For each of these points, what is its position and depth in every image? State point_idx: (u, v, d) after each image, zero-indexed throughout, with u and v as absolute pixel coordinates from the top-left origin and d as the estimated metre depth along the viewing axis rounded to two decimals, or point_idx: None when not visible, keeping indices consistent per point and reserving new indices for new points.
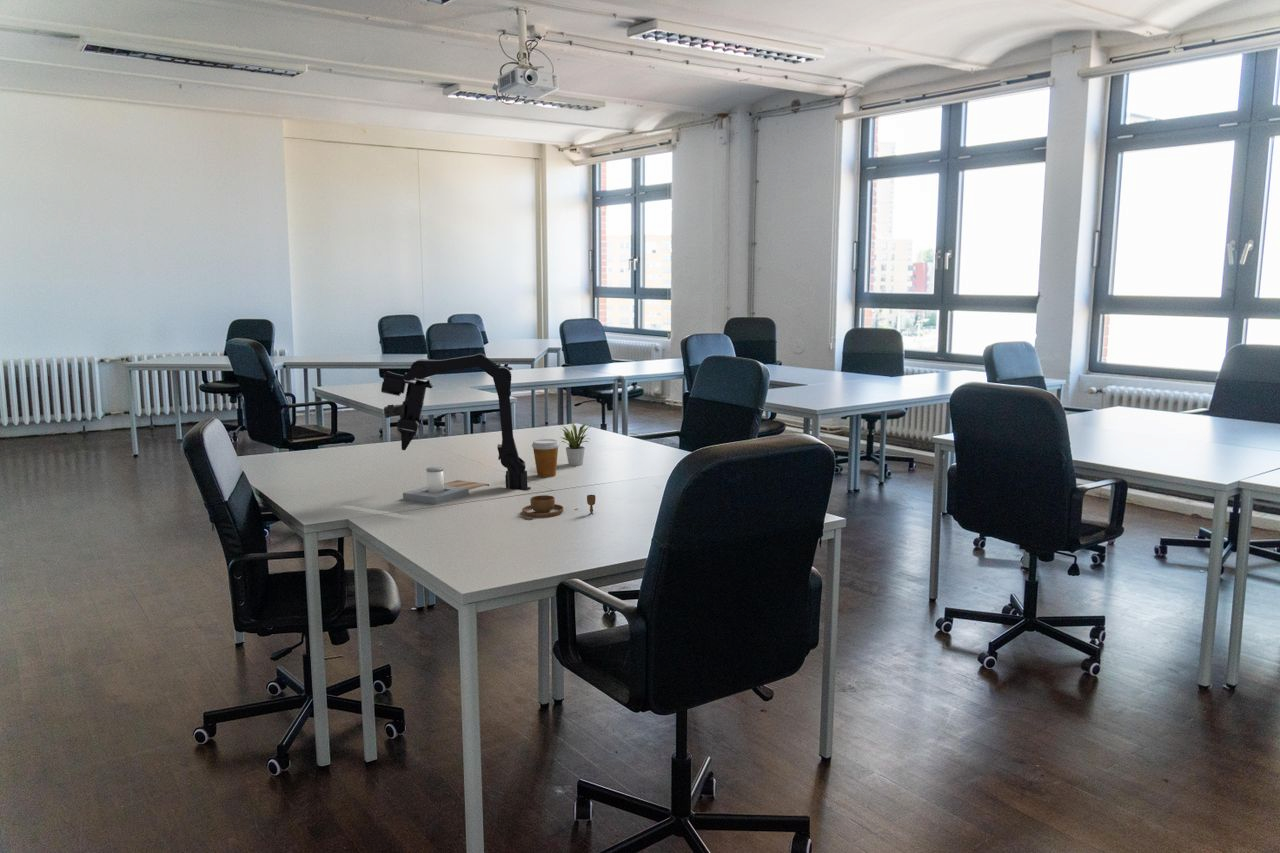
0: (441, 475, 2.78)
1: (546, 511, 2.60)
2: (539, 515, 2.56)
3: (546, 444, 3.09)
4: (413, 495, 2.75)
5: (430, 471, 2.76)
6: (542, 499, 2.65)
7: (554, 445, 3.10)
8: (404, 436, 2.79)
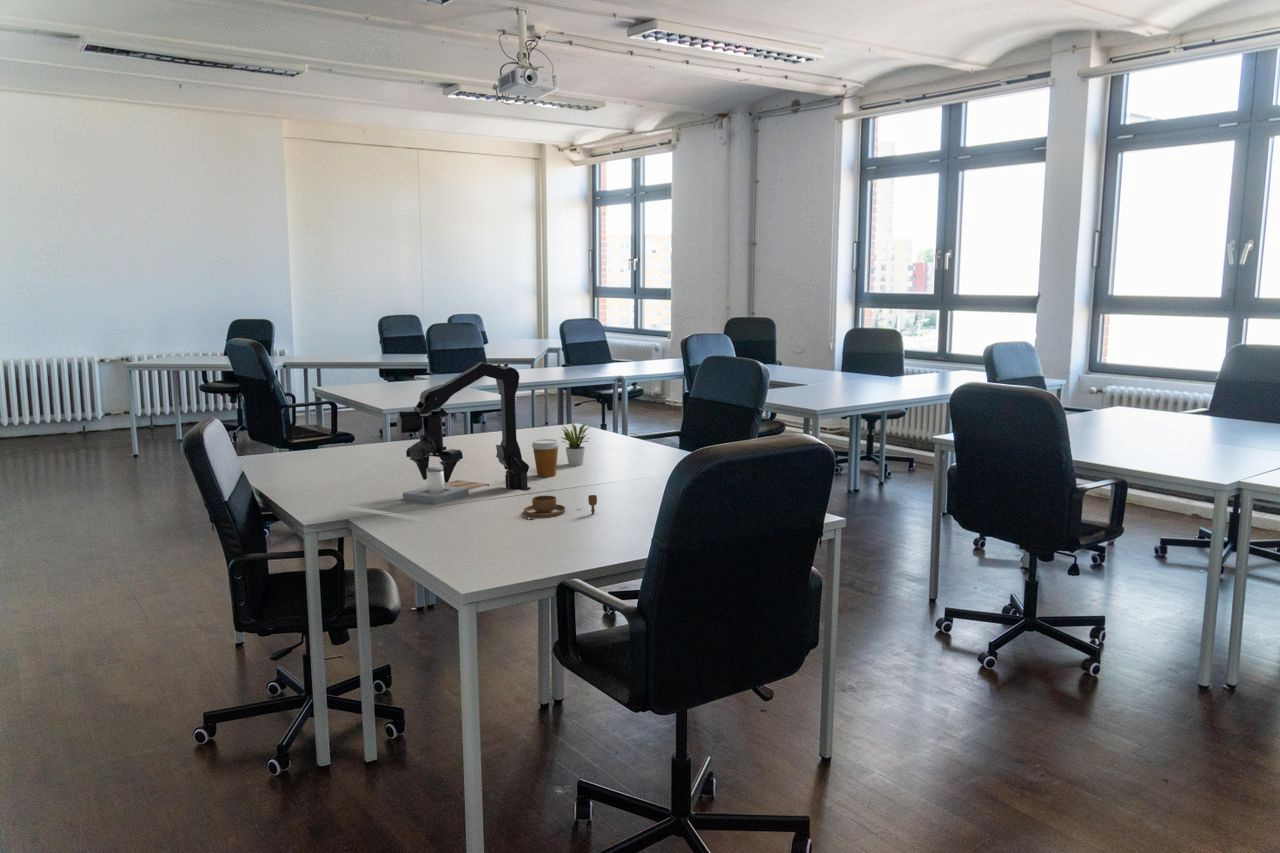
0: (441, 475, 2.78)
1: (548, 511, 2.59)
2: (540, 515, 2.56)
3: (546, 444, 3.09)
4: (413, 495, 2.75)
5: (430, 471, 2.76)
6: (544, 499, 2.65)
7: (554, 445, 3.10)
8: (447, 468, 2.75)
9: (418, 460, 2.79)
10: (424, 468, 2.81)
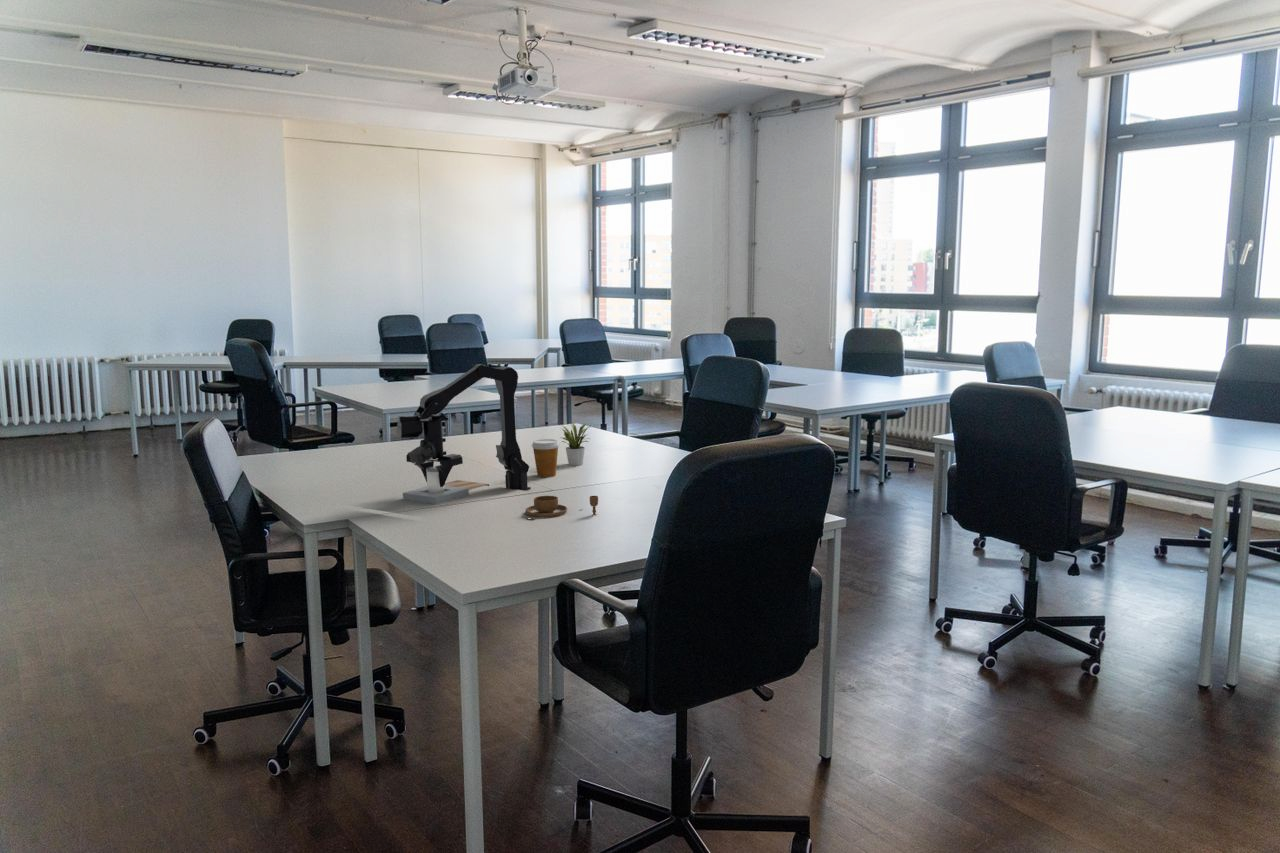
0: None
1: (549, 511, 2.59)
2: (541, 515, 2.56)
3: (546, 444, 3.09)
4: (413, 495, 2.75)
5: (430, 471, 2.76)
6: (546, 499, 2.64)
7: (554, 445, 3.10)
8: (443, 473, 2.76)
9: (423, 465, 2.78)
10: None
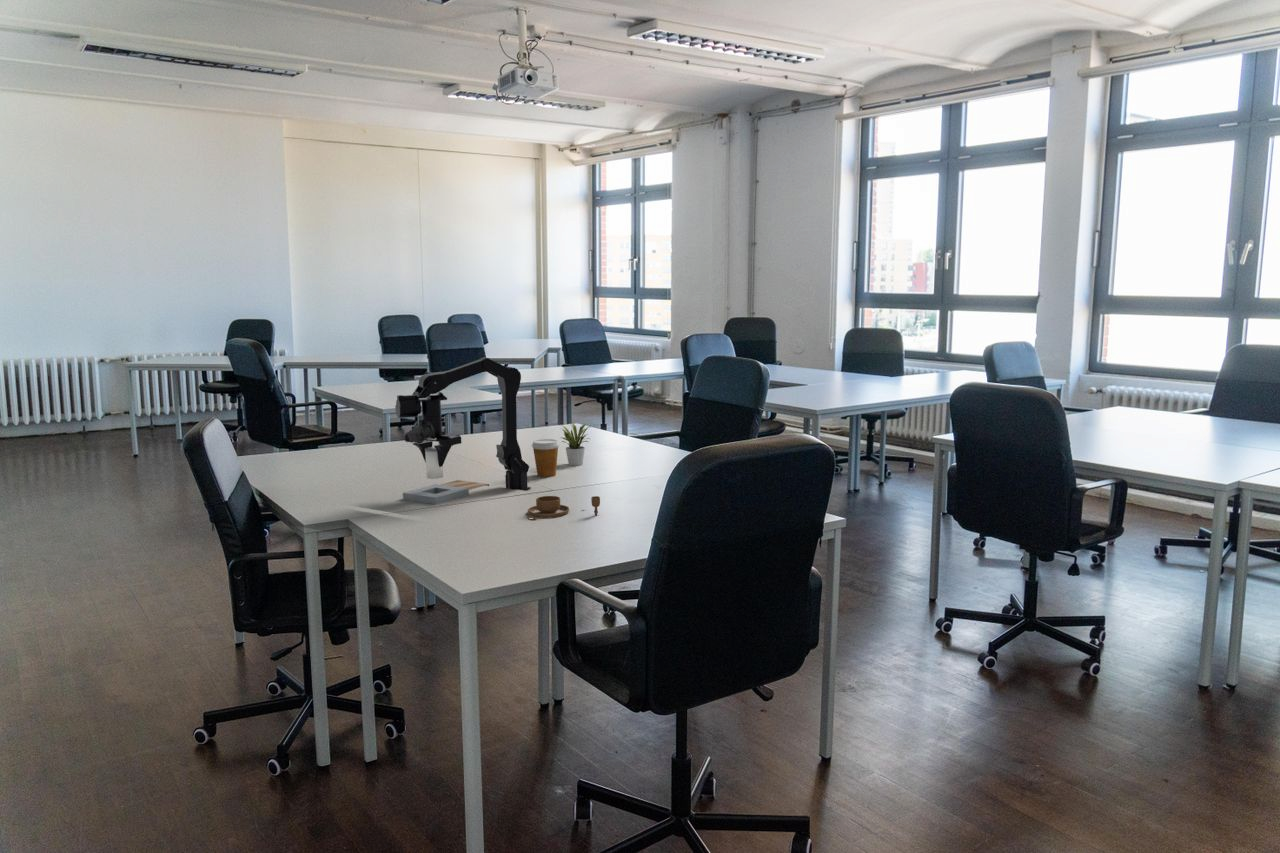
0: None
1: (551, 512, 2.59)
2: (543, 516, 2.56)
3: (546, 444, 3.09)
4: (413, 495, 2.75)
5: (429, 451, 2.75)
6: (549, 499, 2.64)
7: (554, 445, 3.10)
8: (442, 452, 2.75)
9: (421, 445, 2.78)
10: None
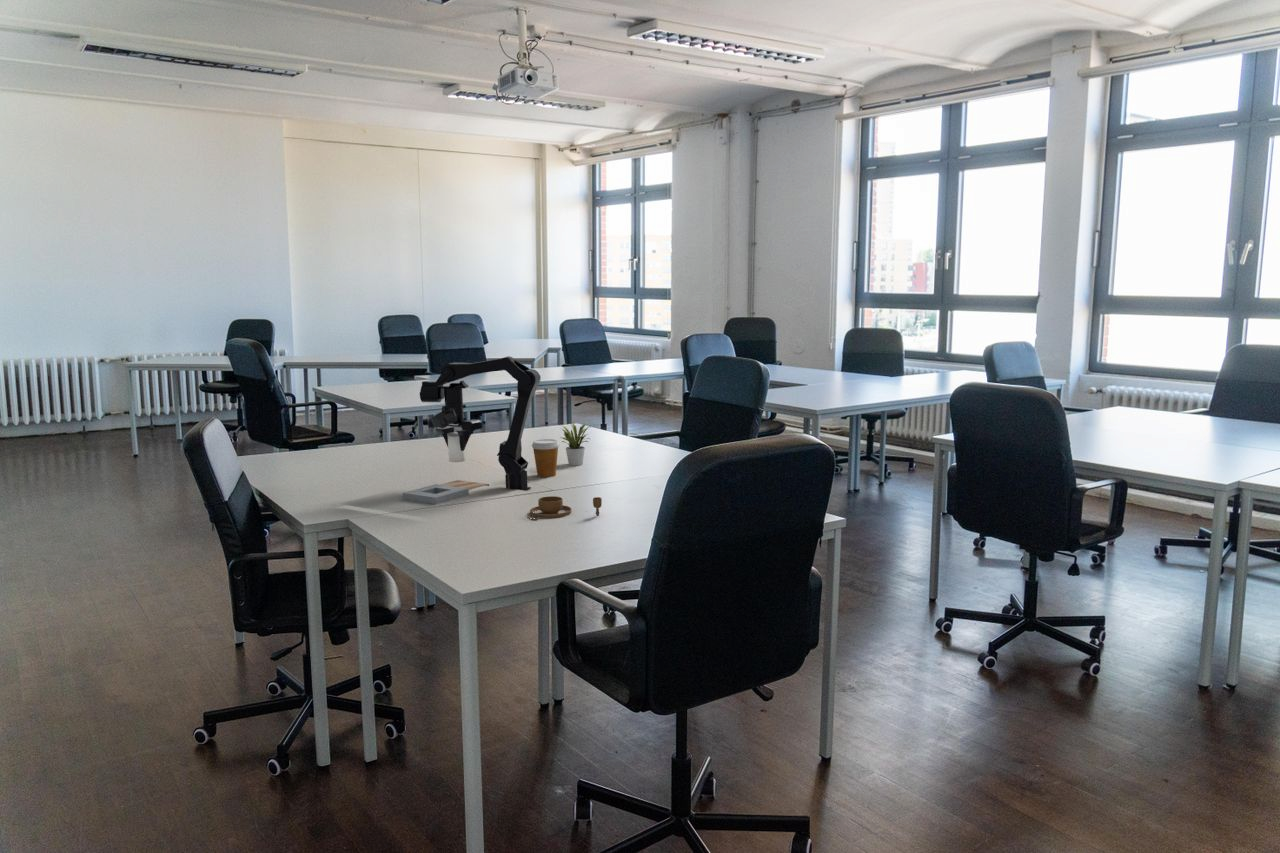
0: None
1: (553, 512, 2.58)
2: (544, 516, 2.55)
3: (546, 444, 3.09)
4: (413, 495, 2.75)
5: (451, 436, 2.90)
6: (552, 500, 2.64)
7: (554, 445, 3.10)
8: (463, 437, 2.90)
9: (444, 431, 2.92)
10: None
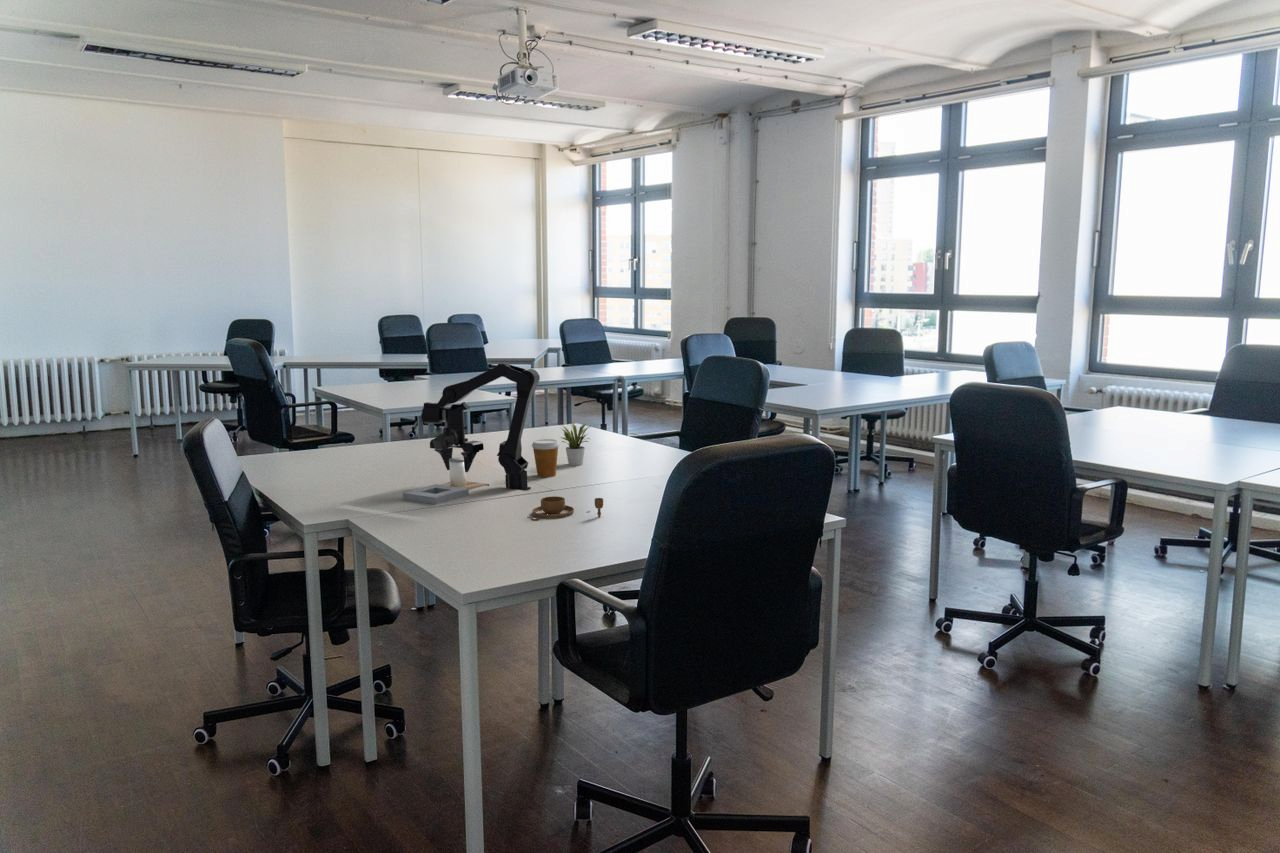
0: (463, 465, 2.93)
1: (555, 512, 2.58)
2: (546, 516, 2.55)
3: (546, 444, 3.09)
4: (413, 495, 2.75)
5: (453, 461, 2.91)
6: (555, 500, 2.63)
7: (554, 445, 3.10)
8: (468, 459, 2.90)
9: (442, 451, 2.94)
10: (448, 459, 2.96)
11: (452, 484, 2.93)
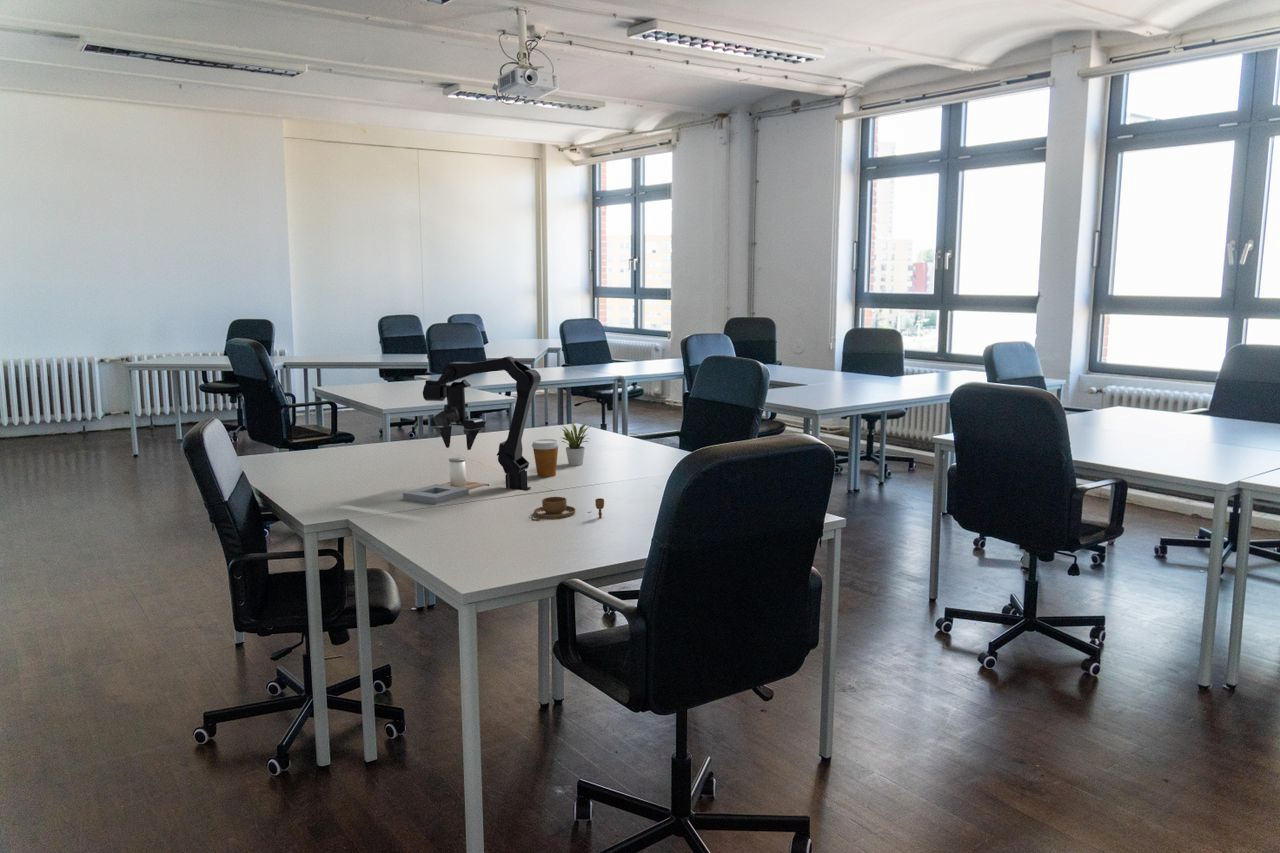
0: (463, 465, 2.93)
1: (556, 513, 2.58)
2: (547, 517, 2.54)
3: (546, 444, 3.09)
4: (413, 495, 2.75)
5: (453, 461, 2.91)
6: (556, 500, 2.63)
7: (554, 445, 3.10)
8: (470, 436, 2.91)
9: (441, 429, 2.95)
10: (447, 437, 2.97)
11: (452, 484, 2.93)
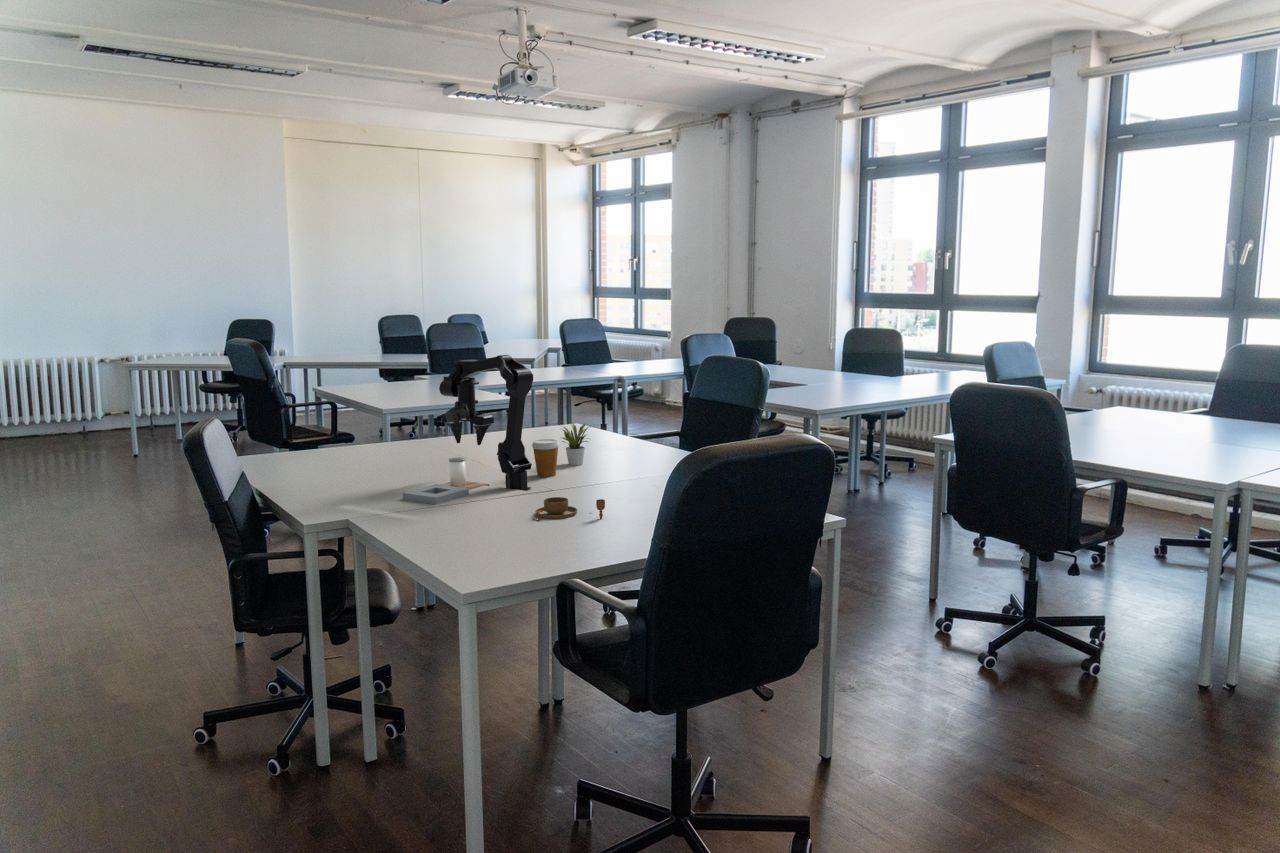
0: (463, 465, 2.93)
1: (557, 513, 2.57)
2: (548, 517, 2.54)
3: (546, 444, 3.09)
4: (413, 495, 2.75)
5: (453, 461, 2.91)
6: (559, 500, 2.62)
7: (554, 445, 3.10)
8: (480, 432, 3.00)
9: (452, 425, 3.04)
10: (458, 432, 3.06)
11: (452, 484, 2.93)
